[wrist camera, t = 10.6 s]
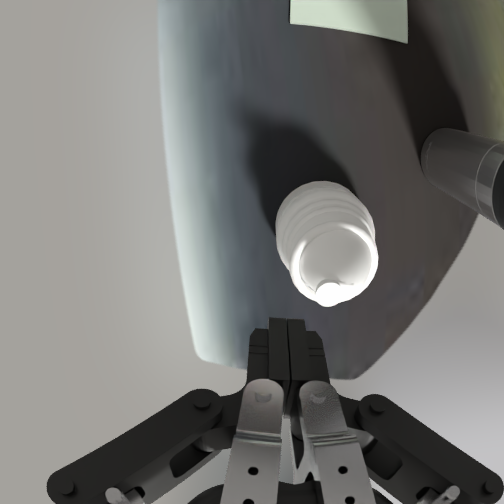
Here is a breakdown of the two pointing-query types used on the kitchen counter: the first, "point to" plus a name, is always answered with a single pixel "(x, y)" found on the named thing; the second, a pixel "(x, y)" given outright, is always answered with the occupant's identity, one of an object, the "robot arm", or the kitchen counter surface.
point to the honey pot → (326, 242)
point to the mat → (355, 16)
